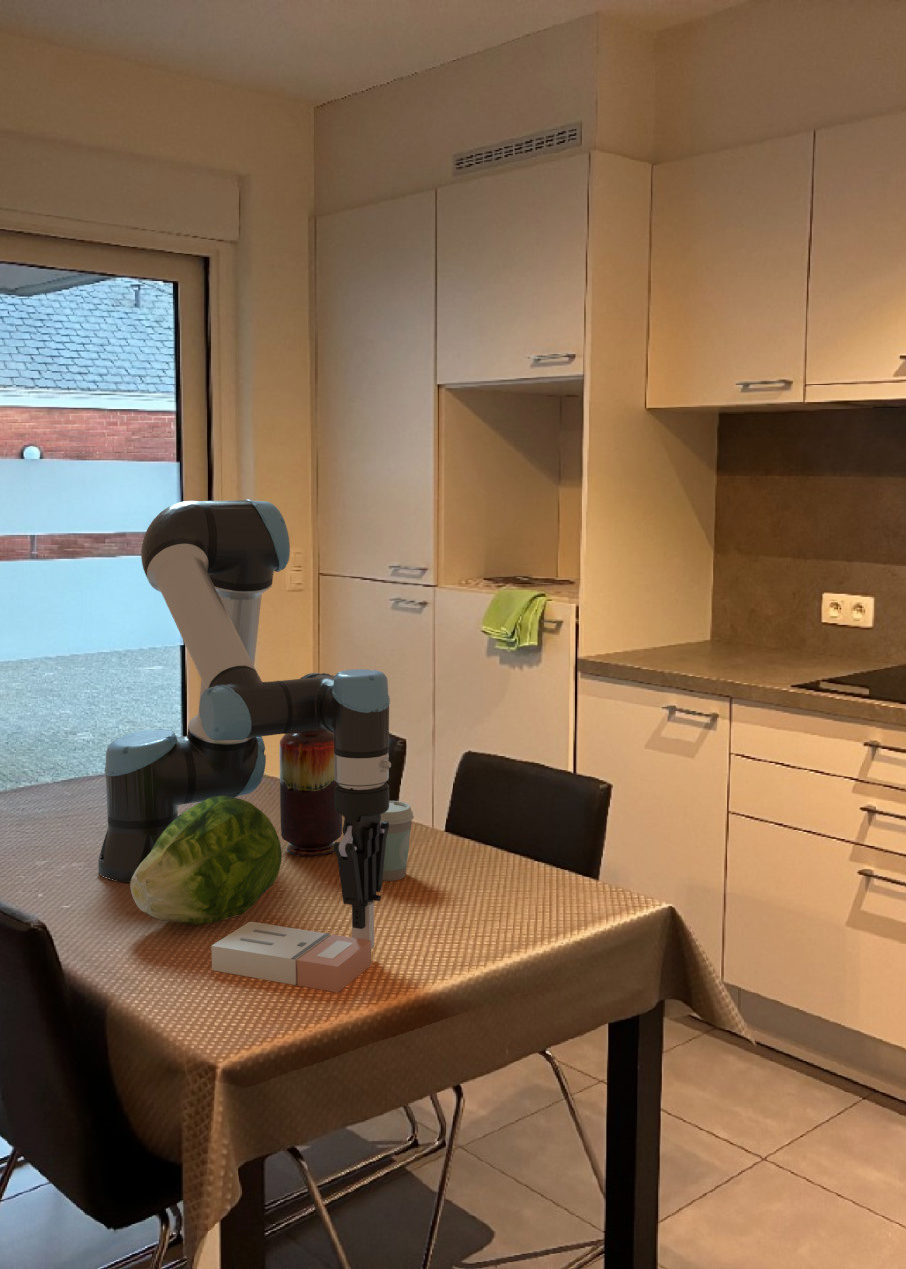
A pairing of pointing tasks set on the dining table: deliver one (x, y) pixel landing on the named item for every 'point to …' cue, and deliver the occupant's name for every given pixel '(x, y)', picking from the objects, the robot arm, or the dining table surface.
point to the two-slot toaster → (264, 951)
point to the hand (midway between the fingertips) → (363, 947)
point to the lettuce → (209, 863)
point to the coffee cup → (397, 840)
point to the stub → (334, 963)
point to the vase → (308, 793)
